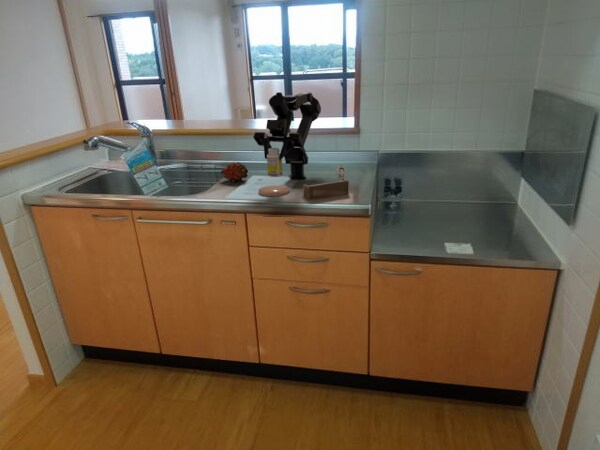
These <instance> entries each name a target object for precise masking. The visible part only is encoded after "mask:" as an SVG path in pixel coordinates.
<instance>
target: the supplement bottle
mask: <svg viewBox="0 0 600 450" xmlns="http://www.w3.org/2000/svg"><path fill="white" fill-rule="evenodd" d="M268 152H269V154H267V159H266V162H267V175H268V177H270V178H279V177H282V176H283V173H284V172H283V158H282V159H281V160H280V159H279V156H280V148H278V147H272V148H270V149H268Z"/></svg>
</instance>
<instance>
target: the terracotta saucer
mask: <svg viewBox="0 0 600 450" xmlns="http://www.w3.org/2000/svg"><path fill="white" fill-rule="evenodd" d="M290 192H291V191H290V187H288V186H285V185H279V184H277V185H276V184H275V185H266V186H262V187H261V188H259V189H258V195H260V196H262V195H263V197H269V196H274V197H281V196H285V195H287V194H289V193H290Z"/></svg>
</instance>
